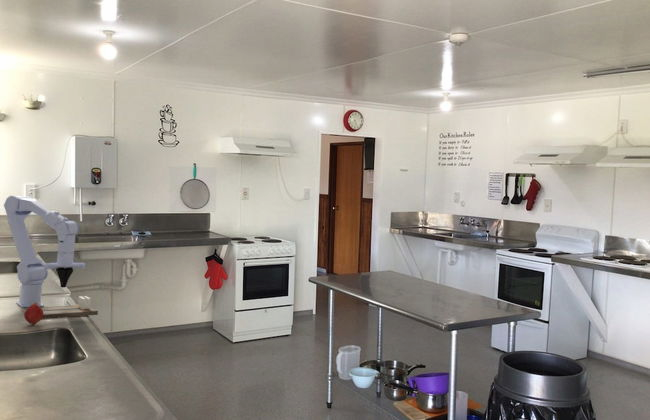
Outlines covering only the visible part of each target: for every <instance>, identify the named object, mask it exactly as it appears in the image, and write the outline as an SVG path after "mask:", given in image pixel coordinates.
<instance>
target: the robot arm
mask: <svg viewBox="0 0 650 420" xmlns="http://www.w3.org/2000/svg"><path fill="white" fill-rule="evenodd" d="M3 207H4V209H5V213H6V217H7V223H8V226H9V229H10V233H11V236H12V238H13V242H14V244H15V247H16V251H17V253H18V254H17V255H18V257H19V259H20V262H19V264H17V266H16V270H17V279H18V281H19V282H20V287H19V288H20V289H19V299H18V301H16V304H17V305H18V306H20V307H21V308H28V307H30V306H31V305H32V304H34V303H35V302H37V305H38V306H39V307H45V305H44V303H42V291H43V283H44V282H45V280H46V279H47V277H48V274H49V273H48V271H49V270H50V269H51V270H52V269H55V271H56V273H57V276H58V280H59V284H60V288H66V287H67V284H68V281H69V279H70V277H71V276H72V274H73V272H74V269H85V268H86V263H85V262H74V255H75V245H76V244H75V243H76V236H77V235H78V233H79V232H80V225H79V223H78V222H77V221H75V220H69V218H68V217H64V216H63V215H61V214H60V211H58V210H56V211H54V210H52V211H50V210H49V209H48V208H46V207H45V206H44V205H42V204H41V203H40V202H39V201H38V199H37V198H34V197H33V196H31V195H27V196H25V195H9V196H8V197H7V198H6V199H5V202H4V203H3ZM32 213H34V214H35V215H37V216H39V217H41V218H42V219H44V220H43V222H44V223H45V224H47V225H48V226H50V227H51V228H52V229H53V230H55V233H56V235H57V239H58V244H57V257H56V258H57V259H56V262H46V263H44V262H43V260H41V259H39V257H37V256H36V253H35V250H34V247H33V245H32V241H31V239H30V235H29V233H28V229H27V227H26V224H25V220H26V219H27V218H28V217H29V216H30V215H31V214H32Z"/></svg>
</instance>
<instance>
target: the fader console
mask: <svg viewBox="0 0 650 420" xmlns="http://www.w3.org/2000/svg"><path fill="white" fill-rule="evenodd" d="M40 307H41V309H42V310H43V318H42V319H41V320H44V319H57V318H58V317H60V318H70V317H71V318H72V317H85V316H87V317H88V316H97V315H99V310H97V309H96V308H94V306H91V305H90V309H81V308H79V307H78V304H75V305H74V304H73V305H58V306H57V305H56V306H55V305H54V306H40ZM58 319H59V318H58Z"/></svg>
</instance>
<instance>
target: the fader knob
mask: <svg viewBox="0 0 650 420" xmlns="http://www.w3.org/2000/svg"><path fill="white" fill-rule="evenodd" d="M91 299H92V298H91V297H89V296H87V295H80V296H78V300H77V302H78V303H77V305H78V307H79V308H81V309H90V306H91Z"/></svg>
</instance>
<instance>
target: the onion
mask: <svg viewBox="0 0 650 420" xmlns="http://www.w3.org/2000/svg"><path fill="white" fill-rule="evenodd" d="M41 307H42V306H40V307H39V306H38V305H37V302H35V303H34V304H32V305H31V306H30V307H27V308H26V310H25V312H24V314H23V315H24V319H25V321H26V322H27V323H29V324H30V325H32V326H35V325H37V324H38V323H39V322H40V321H41V320H43V319H42V318H43V310H42V309H41Z"/></svg>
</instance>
